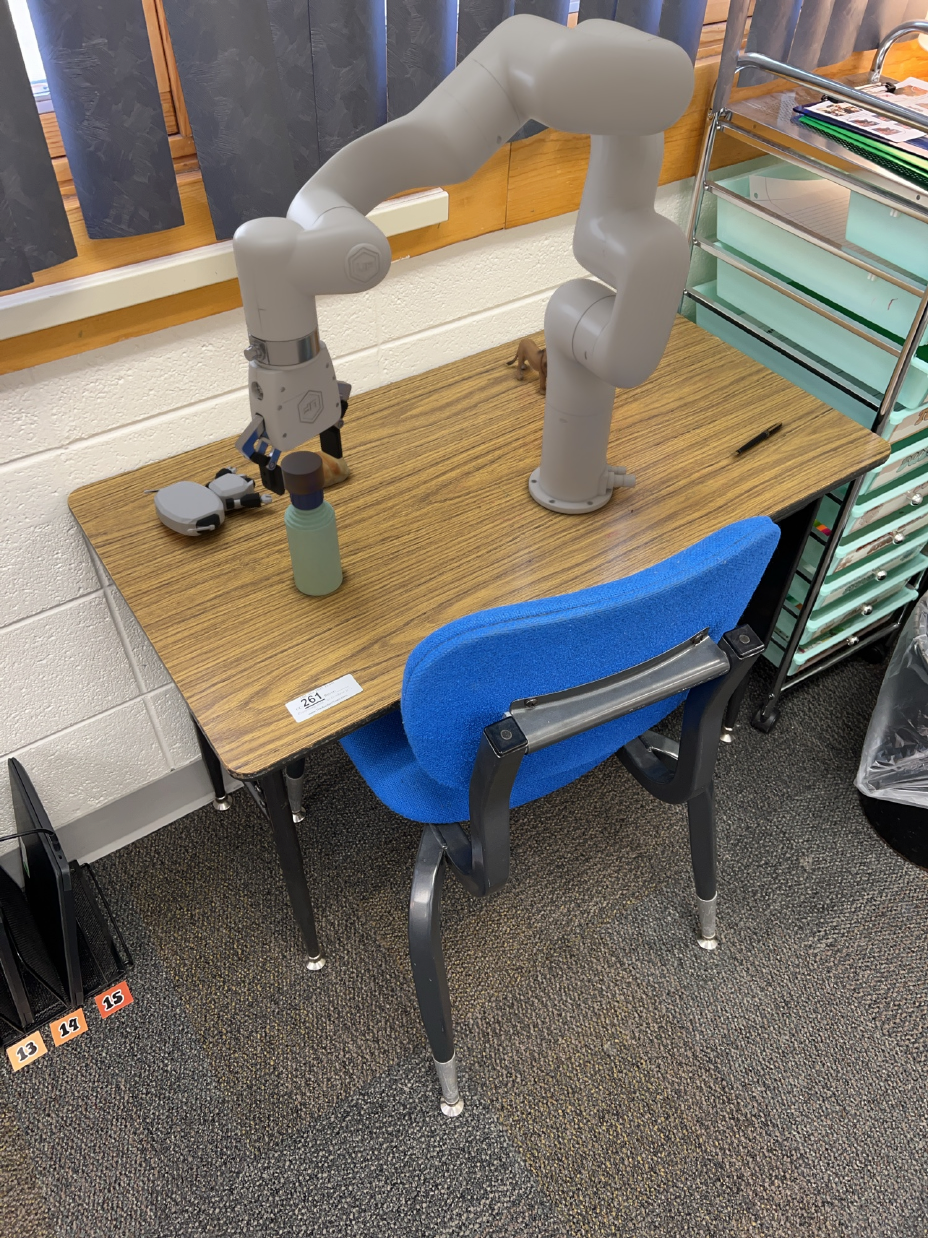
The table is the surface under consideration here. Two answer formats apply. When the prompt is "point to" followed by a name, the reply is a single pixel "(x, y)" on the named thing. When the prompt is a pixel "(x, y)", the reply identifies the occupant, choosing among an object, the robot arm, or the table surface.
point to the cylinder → (302, 472)
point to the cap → (307, 500)
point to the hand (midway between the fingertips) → (304, 472)
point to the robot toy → (205, 501)
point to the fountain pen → (758, 438)
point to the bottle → (314, 549)
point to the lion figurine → (531, 361)
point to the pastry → (333, 469)
